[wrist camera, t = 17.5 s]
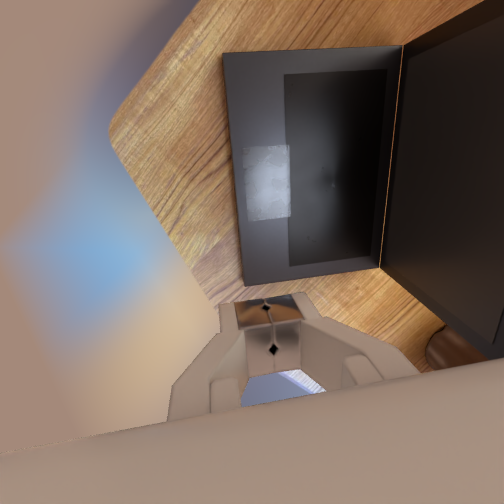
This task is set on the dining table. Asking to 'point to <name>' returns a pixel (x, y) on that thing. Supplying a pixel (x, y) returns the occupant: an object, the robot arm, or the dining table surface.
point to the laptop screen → (452, 176)
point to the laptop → (310, 157)
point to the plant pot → (451, 351)
